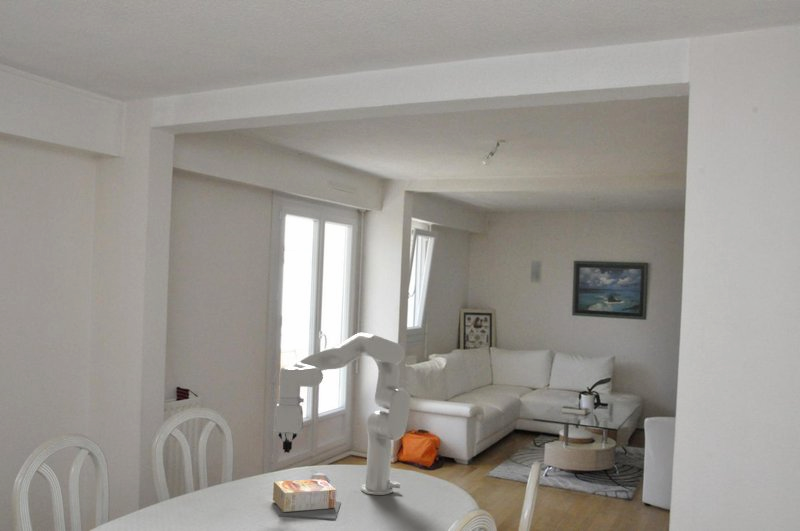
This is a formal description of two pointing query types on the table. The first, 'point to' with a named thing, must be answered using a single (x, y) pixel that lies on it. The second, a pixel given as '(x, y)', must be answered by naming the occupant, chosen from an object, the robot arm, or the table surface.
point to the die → (320, 477)
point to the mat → (314, 513)
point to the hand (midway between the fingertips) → (287, 451)
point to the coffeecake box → (304, 495)
